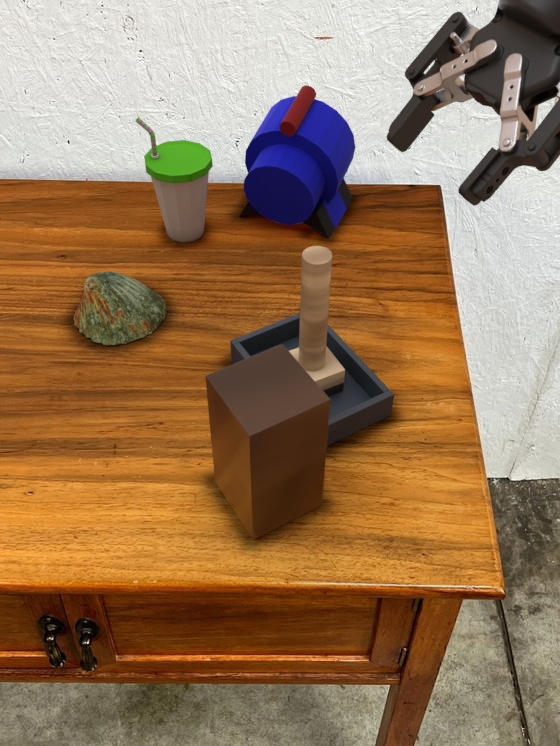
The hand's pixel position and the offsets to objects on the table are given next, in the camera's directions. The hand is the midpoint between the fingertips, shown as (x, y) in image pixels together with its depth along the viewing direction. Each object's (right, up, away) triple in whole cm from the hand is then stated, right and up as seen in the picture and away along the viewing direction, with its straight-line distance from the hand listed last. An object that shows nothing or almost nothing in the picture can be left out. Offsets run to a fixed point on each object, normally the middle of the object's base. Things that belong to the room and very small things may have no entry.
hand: (428, 171), depth 58 cm
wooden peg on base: (-8, -16, +20) cm, 27 cm away
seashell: (-29, -9, +28) cm, 41 cm away
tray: (-8, -16, +20) cm, 27 cm away
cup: (-23, +2, +39) cm, 45 cm away
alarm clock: (-9, +6, +42) cm, 43 cm away
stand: (-12, -26, +11) cm, 31 cm away
